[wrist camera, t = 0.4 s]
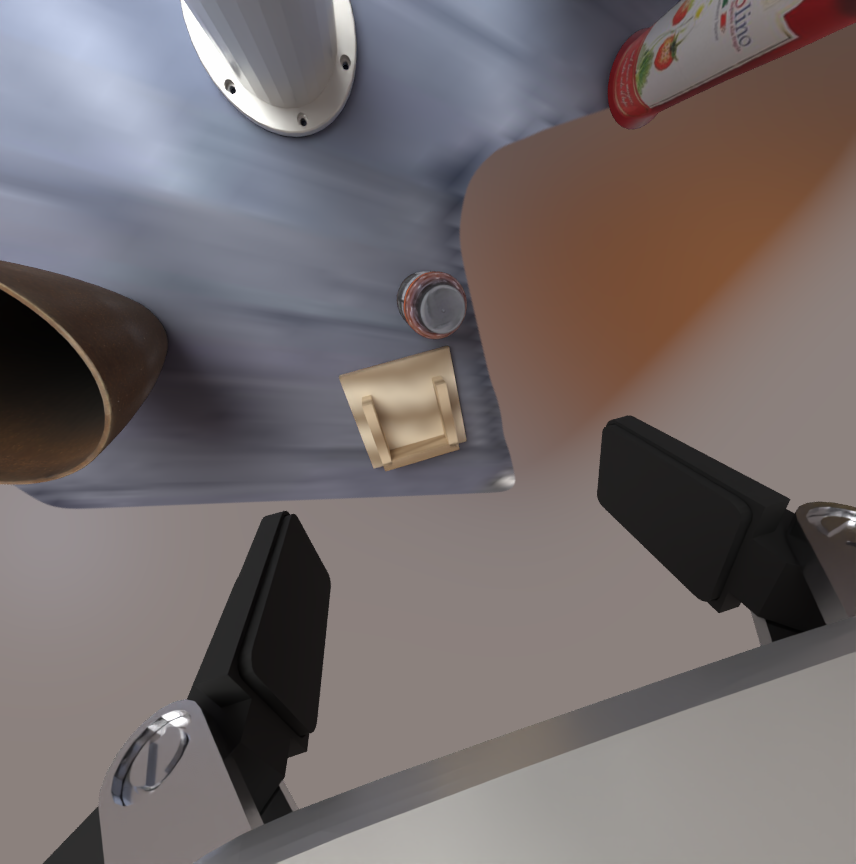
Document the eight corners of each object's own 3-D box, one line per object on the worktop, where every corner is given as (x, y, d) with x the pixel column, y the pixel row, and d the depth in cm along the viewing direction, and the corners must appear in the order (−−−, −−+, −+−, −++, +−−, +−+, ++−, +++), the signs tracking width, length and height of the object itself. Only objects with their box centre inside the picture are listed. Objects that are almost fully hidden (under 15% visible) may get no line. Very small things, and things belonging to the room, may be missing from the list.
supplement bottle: (455, 304, 37) (489, 317, 27) (416, 336, 38) (436, 360, 28) (426, 258, 34) (452, 255, 25) (385, 294, 35) (394, 304, 25)
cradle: (339, 375, 38) (337, 385, 35) (447, 345, 39) (455, 353, 36) (373, 464, 45) (374, 480, 42) (464, 437, 46) (473, 451, 43)
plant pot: (240, 359, 36) (164, 417, 22) (137, 424, 37) (0, 519, 23) (116, 219, 28) (-121, 171, 14) (-10, 305, 29) (-342, 338, 15)
